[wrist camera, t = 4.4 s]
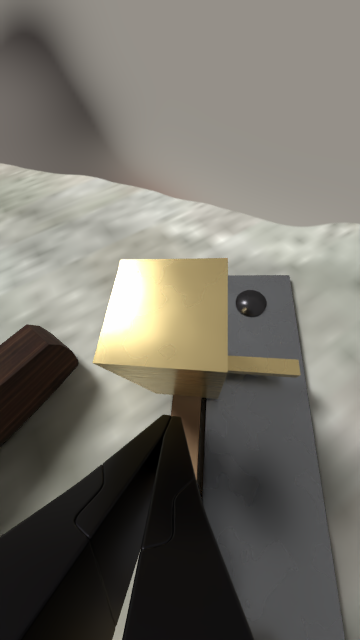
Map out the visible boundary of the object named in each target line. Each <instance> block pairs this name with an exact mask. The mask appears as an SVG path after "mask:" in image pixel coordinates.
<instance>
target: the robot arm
mask: <svg viewBox="0 0 360 640" xmlns="http://www.w3.org/2000/svg"><path fill="white" fill-rule="evenodd" d="M140 549H141V552H140ZM139 552H140V554H139ZM138 555H139V559H138ZM137 559H138V564H137V569H136V574H135V579H134V584H133V589H132V594H131V599H130V604H129V609H128V614H127V619H126V623H125V628H124V633H123V638H122V640H255V639H254V637H253V634H252V631H251V629H250V626H249V624H248V621H247V619H246V616H245V613H244V611H243V608H242V606H241V603H240V600H239V598H238V595H237V593H236V590H235V588H234V585H233V582H232V580H231V577H230V575H229V572H228V569H227V567H226V564H225V562H224V559H223V557H222V554H221V551H220V549H219V546H218V544H217V541H216V538H215V536H214V533H213V531H212V528H211V525H210V523H209V520H208V517H207V514H206V512H205V509H204V506H203V503H202V499H201V496H200V492H199V488H198V484H197V480H196V477H195V473H194V469H193V464H192V460H191V456H190V452H189V448H188V444H187V440H186V436H185V432H184V427H183V423H182V419H181V417H180V416H170V415H162V416H161V417H160V418H158V419H157V420H156V421H155V422H153V423H152V424H151V425H150V426H148V427H147V428H146V429H145V430H144V431H142V432H141V433H140V434H139V435H137V436H136V437H135V438H134V439H132V440H131V441H130V442H129V443H128V444H126V445H125V446H124V447H123V448H121V449H120V450H119V451H118V452H117V453H115V454H114V455H113V456H112V457H110V458H109V459H108V460H107V461H105V462H104V463H103V465H100V466H99V467H98V468H96V469H95V470H94V471H93V472H91V473H90V474H89V475H88V476H86V477H85V478H84V479H82V480H81V481H80V482H78V483H77V484H76V485H74V486H73V487H71V488H70V489H69V490H67V491H66V492H64V493H63V494H62V495H60V496H59V497H57V498H56V499H54V500H53V501H51V502H50V503H49V504H47V505H46V506H44V507H43V508H41V509H40V510H38V511H37V512H35V513H34V514H33V515H31V516H30V517H28V518H27V519H25V520H24V521H22V522H21V523H20V524H18V525H17V526H15V527H14V528H12V529H11V530H9V531H8V532H6V533H5V534H4V535H2V536H1V537H0V640H112V638H113V635H114V632H115V627H116V625H117V622H118V619H119V616H120V613H121V609H122V606H123V603H124V600H125V597H126V593H127V590H128V587H129V584H130V581H131V578H132V574H133V571H134V568H135V565H136V562H137Z"/></svg>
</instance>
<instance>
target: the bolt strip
mask: <svg viewBox="0 0 360 640" xmlns="http://www.w3.org/2000/svg"><path fill="white" fill-rule="evenodd" d="M228 356H244V357H261V358H279V359H296V360H299V367H300V374H301V375H300V376H298V377H296V378H293V377H279V376H265V375H260V376H258V377H254V376H252V375H251V374H236V373H227V376H226V378H225V381H224V384H223V386H222V389H221V392H220V395H219V397H218V399H213V398H207V399H206V424H205V449H204V473H203V498H202V503H203V506H204V509H205V512H206V514H207V517H208V520H209V523H210V525H211V528H212V531H213V533H214V536H215V538H216V541H217V544H218V546H219V549H220V551H221V554H222V557H223V559H224V562H225V564H226V567H227V569H228V572H229V575H230V577H231V580H232V582H233V585H234V588H235V590H236V593H237V595H238V598H239V600H240V603H241V606H242V608H243V611H244V613H245V616H246V619H247V621H248V624H249V626H250V629H251V631H252V634H253V637H254V639H255V640H345V636H344V629H343V623H342V616H341V610H340V603H339V597H338V590H337V584H336V577H335V571H334V564H333V558H332V551H331V545H330V538H329V531H328V525H327V518H326V512H325V505H324V499H323V492H322V486H321V479H320V473H319V466H318V460H317V453H316V447H315V440H314V433H313V427H312V420H311V414H310V407H309V401H308V394H307V388H306V381H305V375H304V368H303V362H302V355H301V349H300V342H299V336H298V329H297V322H296V316H295V309H294V303H293V296H292V290H291V283H290V277H289V275H256V276H228Z"/></svg>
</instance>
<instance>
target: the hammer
mask: <svg viewBox="0 0 360 640" xmlns="http://www.w3.org/2000/svg"><path fill="white" fill-rule="evenodd" d="M77 365H78V359H77V358H76V356H75V355H74V353H73V352H72V351H71V350H70V349H69V348H68V347H67V346H65V345H64V344H63V343H62V342H61V341H60V340H58V339H57V338H56V337H55V336H54V335H53V334H51V333H50V332H48V331H47V330H45V329H44V328H42V327H40V326H35V325H25V326H24V327H23V328H22V329H20V330H19V331H18V332H16V333H15V334H14V335H13V336H11V337H10V338H9V339H7V340H6V341H5V342H3V343H2V344H1V345H0V446H1V445H2V444H3V443H4V442H5V441H6V440H7V439H8V438H9V437H10V436H11V435H12V434H13V433H14V432H15V431H16V430H17V429H19V428H20V427H21V426H22V424H23V423H24V422H25V421H26V420H27V419H28V418H29V417H30V416H31V415H32V414H33V413H34V412H35V411H36V410H37V409H38V408H39V407H40V406H41V405H42V404H43V403H44V402H45V401H46V400H47V399H48V398H49V397H50V395H51V394H52V393H53V392H54V391H55V390H56V389H57V388H58V387H59V386H60V385H61V384H62V383H63V382H64V380H65V379H66V378H67V377H68V376H69V375H70V374H71V372H72V371H73V370H74V369H75V368H76V367H77Z"/></svg>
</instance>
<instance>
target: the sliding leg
mask: <svg viewBox="0 0 360 640" xmlns="http://www.w3.org/2000/svg"><path fill="white" fill-rule="evenodd" d="M93 363H94V364H96V365H98V366H100V367H102V368H104V369H106V370H109V371H111V372H113V373H115V374H117V375H119V376H121V377H123V378H125V379H127V380H129V381H131V382H134V383H136V384H138V385H140V386H142V387H144V388H146V389H148V390H150V391H152V392H154V393H158V394H169V395H180V396H191V397H202V398H213V399H218V397H219V395H220V392H221V389H222V386H223V384H224V381H225V378H226V376H227V373H236V374H251V375H252V376H254V377H258V376H260V375H265V376H279V377H293V378H296V377H298V376H300V375H301V374H300V367H299V360H296V359H279V358H261V357H244V356H228V258H207V259H144V260H121V262H120V266H119V269H118V273H117V277H116V280H115V284H114V288H113V291H112V295H111V298H110V302H109V306H108V309H107V313H106V317H105V320H104V324H103V327H102V331H101V335H100V338H99V342H98V345H97V349H96V353H95V356H94V360H93Z"/></svg>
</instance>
